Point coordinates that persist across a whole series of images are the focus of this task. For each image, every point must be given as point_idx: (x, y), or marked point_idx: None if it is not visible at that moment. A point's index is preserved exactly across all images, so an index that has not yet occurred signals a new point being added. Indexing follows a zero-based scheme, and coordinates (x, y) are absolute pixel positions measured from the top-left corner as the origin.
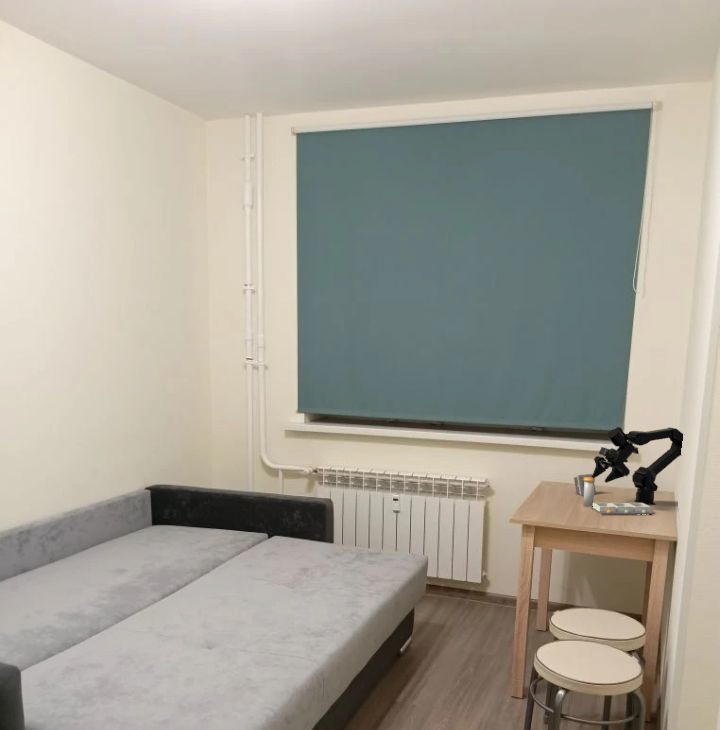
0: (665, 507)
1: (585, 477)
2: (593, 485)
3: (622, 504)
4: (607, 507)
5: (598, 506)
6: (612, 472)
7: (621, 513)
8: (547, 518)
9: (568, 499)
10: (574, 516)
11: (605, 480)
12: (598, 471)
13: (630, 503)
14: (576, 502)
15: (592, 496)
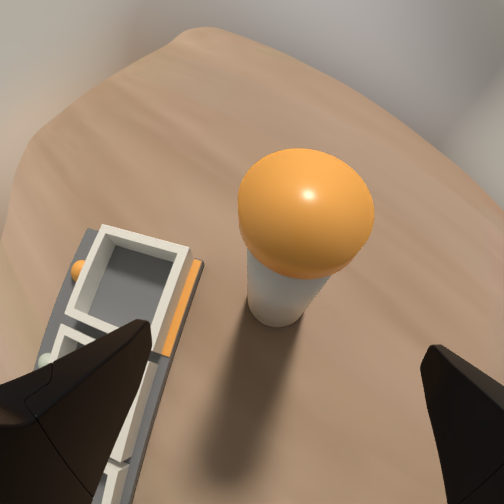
0: None
1: (351, 186)
2: (251, 257)
3: (120, 436)
4: (85, 266)
5: (119, 229)
6: (7, 389)
7: (49, 322)
8: (166, 59)
9: (429, 283)
10: (139, 122)
11: (130, 322)
12: (473, 446)
13: (106, 482)
14: (366, 283)
15: (248, 283)
